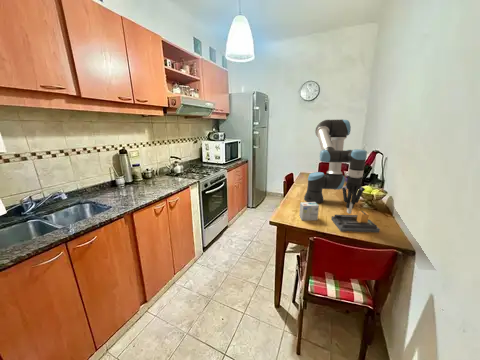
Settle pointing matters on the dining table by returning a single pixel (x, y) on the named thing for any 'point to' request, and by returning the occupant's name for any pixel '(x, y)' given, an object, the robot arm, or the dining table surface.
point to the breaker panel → (353, 220)
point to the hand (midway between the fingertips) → (348, 212)
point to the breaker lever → (362, 216)
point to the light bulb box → (309, 210)
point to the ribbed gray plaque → (356, 224)
